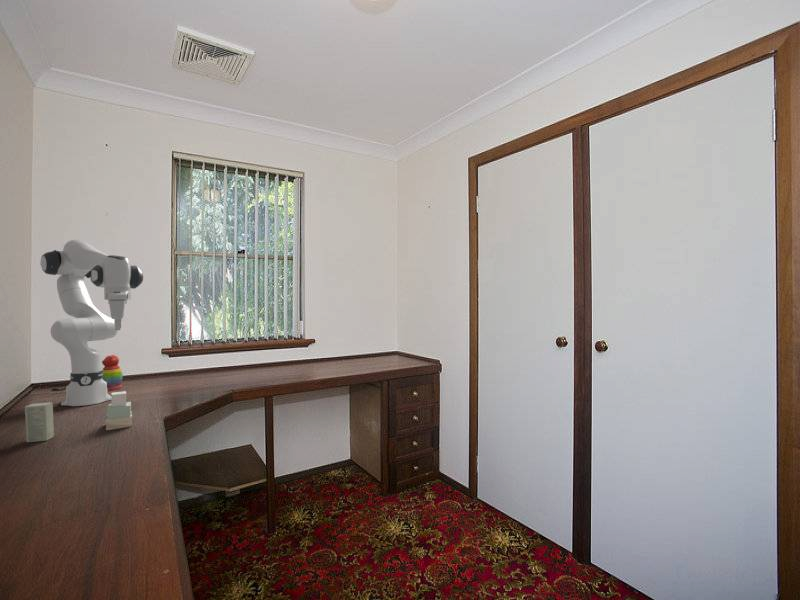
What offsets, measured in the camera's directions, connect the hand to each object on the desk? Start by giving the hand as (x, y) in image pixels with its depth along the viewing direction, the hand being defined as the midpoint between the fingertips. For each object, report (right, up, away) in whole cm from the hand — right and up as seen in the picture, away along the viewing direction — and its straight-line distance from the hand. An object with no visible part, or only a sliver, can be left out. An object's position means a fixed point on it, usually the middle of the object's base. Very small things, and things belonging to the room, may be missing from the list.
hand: (118, 329), depth 169 cm
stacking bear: (-37, -35, +50) cm, 72 cm away
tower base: (+9, -36, -12) cm, 39 cm away
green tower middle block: (+9, -32, -12) cm, 35 cm away
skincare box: (-8, -36, -27) cm, 46 cm away
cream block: (+9, -28, -12) cm, 31 cm away
